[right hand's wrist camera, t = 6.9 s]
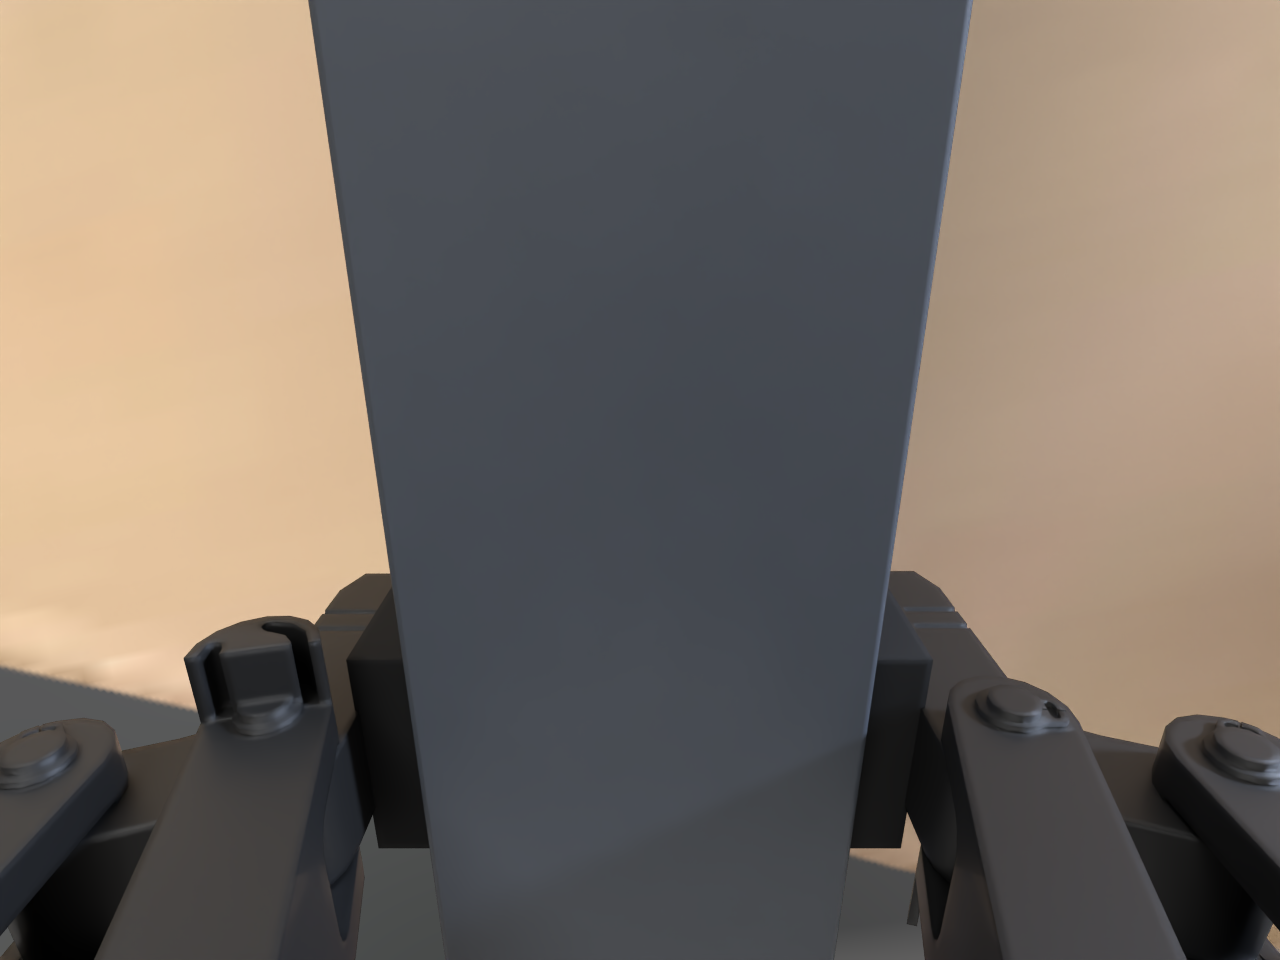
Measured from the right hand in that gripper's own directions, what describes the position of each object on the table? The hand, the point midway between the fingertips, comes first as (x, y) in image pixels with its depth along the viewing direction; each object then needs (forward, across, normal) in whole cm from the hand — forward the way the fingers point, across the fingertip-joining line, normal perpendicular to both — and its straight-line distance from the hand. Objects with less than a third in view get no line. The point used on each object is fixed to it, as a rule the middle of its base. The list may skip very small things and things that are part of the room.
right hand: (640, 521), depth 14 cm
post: (0, 0, -19) cm, 19 cm away
